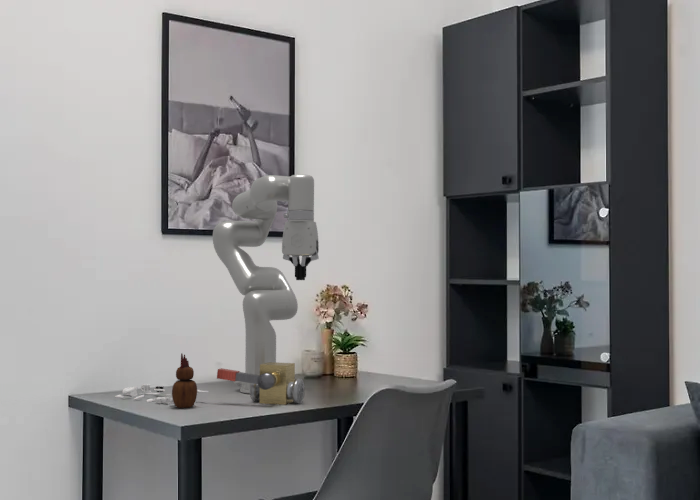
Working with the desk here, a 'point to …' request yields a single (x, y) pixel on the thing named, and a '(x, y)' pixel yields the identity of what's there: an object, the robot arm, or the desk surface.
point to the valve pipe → (279, 385)
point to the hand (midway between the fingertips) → (300, 279)
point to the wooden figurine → (184, 386)
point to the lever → (248, 378)
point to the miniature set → (146, 390)
